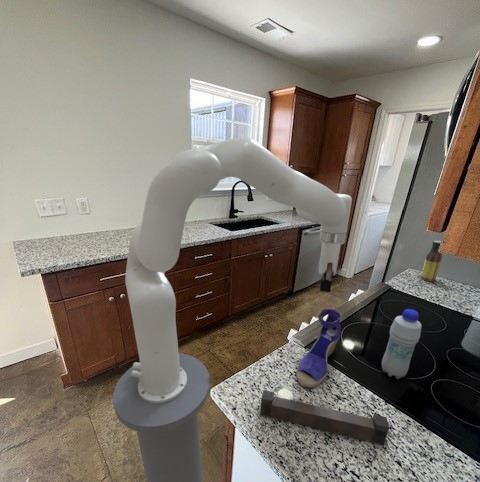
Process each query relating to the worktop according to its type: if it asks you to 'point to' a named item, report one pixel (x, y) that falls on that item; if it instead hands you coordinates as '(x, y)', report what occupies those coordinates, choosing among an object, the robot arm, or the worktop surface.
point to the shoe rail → (325, 418)
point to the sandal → (320, 350)
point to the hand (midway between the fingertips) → (324, 290)
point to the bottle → (401, 343)
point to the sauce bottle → (432, 263)
